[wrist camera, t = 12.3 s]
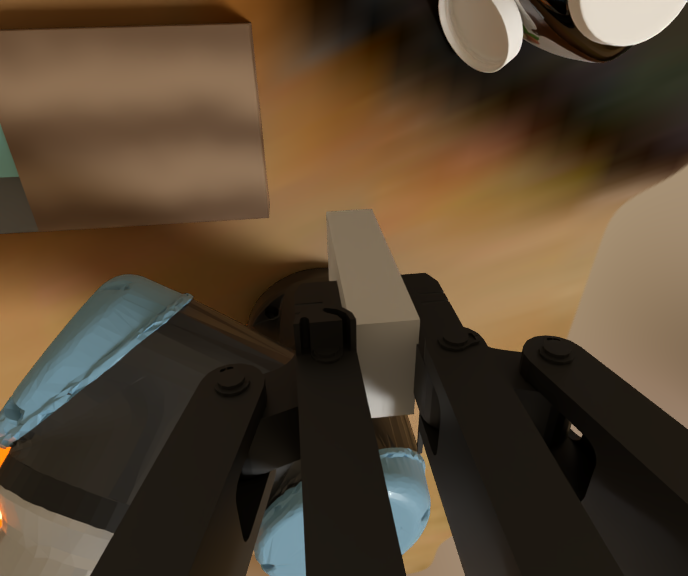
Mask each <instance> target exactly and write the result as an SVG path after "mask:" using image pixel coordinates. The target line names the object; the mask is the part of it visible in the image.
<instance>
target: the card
mask: <svg viewBox="0 0 688 576" xmlns="http://www.w3.org/2000/svg"><path fill="white" fill-rule="evenodd" d="M0 177H19V175H18V172H17V169H16V166H15V163H14V161H13V158H12V155H11V152H10V149H9V147H8V144H7V141H6V138H5V136H4V133H3V130H2V127H1V124H0Z"/></svg>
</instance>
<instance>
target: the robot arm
mask: <svg viewBox="0 0 688 576" xmlns="http://www.w3.org/2000/svg"><path fill="white" fill-rule="evenodd" d="M326 220H327V244H328V267H329V268H317V269H310V270H305V271H301V272H298V273H295V274H292V275H290V276H288V277H285V278H283V279H282V280H280V281H278V282H277V283H275V284H274V285H273V286H271V287H270V288H269V289H268V290H267V291H266V292H265V293H264V294H263V295H262V296H261V297H260V298H259V300H258V301H257V303H256V304H255V306H254V308H253V310H252V312H251V314H250V317H249V321H248V326H245V325H243V324H241V323H239V322H237V321H235V320H233V319H231V318H229V317H227V316H225V315H223V314H221V313H219V312H217V311H215V310H213V309H211V308H209V307H207V306H205V305H203V304H201V303H199V302H198V301H196V300H194V299H192V298H193V297H194V296H192V295H191V294H189V293H186V294H181V293H179V292H176V291H174V290H172V289H170V288H167V287H165V286H163V285H161V284H158V283H156V282H154V281H152V280H149V279H147V278H145V277H142V276H139V275H134V274H125V275H120V276H117V277H114V278H112V279H110V280H109V281H107V282H105V283H104V284H103V285H102V286H101V287H100V288H99V289H98V290H97V291H96V292H95V293H94V294H93V295H92V296H91V297H90V298H89V299H88V301H87V302H86V303H85V304H84V305H83V306H82V307H81V308H80V310H79V311H78V312H77V313H76V314H75V315H74V317H73V318H72V319H71V320H70V321H69V323H68V324H67V325H66V326H65V327H64V329H63V330H62V331H61V332H60V333H59V335H58V336H57V337H56V338H55V340H54V341H53V342H52V343H51V344H50V346H49V347H48V348H47V349H46V351H45V352H44V353H43V354H42V356H41V357H40V358H39V360H38V361H37V362H36V363H35V365H34V366H33V367H32V368H31V370H30V371H29V372H28V374H27V375H26V376H25V377H24V379H23V380H22V382H21V383H20V384H19V386H18V387H17V388H16V390H15V391H14V393H13V395H12V396H11V397H10V398H9V400H8V401H7V403H6V404H5V406H4V407H3V409H2V410H1V411H0V448H2V449H6V448H7V447H11V448H10V451H9V453H8V455H7V456H6V458H5V460H4V461H3V463H2V465H1V466H0V511H1V514H2V526H1V527H0V576H246V573H247V569H248V566H249V563H250V560H251V556H252V553H253V550H254V552H255V557H256V560H257V561H258V562H259V563H260V564H261V567H262V569H263V570H264V571H265V572H266V573H267V574H268V575H270V576H406V573H405V568H404V564H403V559H402V555H403V554H404V553H405V552H406V551H407V550H408V549H409V548H410V547H411V546H412V545H413V544H414V543H415V542H416V541H417V540H418V538H419V537H420V535H421V534H422V532H423V531H424V529H425V527H426V525H427V522H428V519H429V515H430V506H431V504H430V495H429V491H428V486H427V482H426V478H425V462H424V460H423V458H422V456H421V455H420V453H422V448H423V444H424V447H425V451H426V454H427V457H428V460H429V463H430V466H431V469H432V473H433V476H434V479H435V482H436V485H437V488H438V491H439V495H440V498H441V501H442V504H443V507H444V510H445V514H446V517H447V520H448V523H449V526H450V529H451V532H452V536H453V538H454V542H455V545H456V548H457V551H458V554H459V557H460V561H461V564H462V567H463V570H464V573H465V576H688V429H686V428H685V427H684V426H683V425H681V424H680V423H679V422H678V421H676V420H675V419H674V418H672V417H671V416H669V415H668V414H667V413H666V412H664V411H663V410H662V409H661V408H659V407H658V406H657V405H656V404H654V403H653V402H652V401H650V400H649V399H648V398H646V397H645V396H644V395H642V394H641V393H640V392H638V391H637V390H636V389H635V388H633V387H632V386H631V385H630V384H628V383H627V382H626V381H624V380H623V379H622V378H620V377H619V376H618V375H617V374H615V373H614V372H613V371H611V370H610V369H609V368H607V367H606V366H605V365H603V364H602V363H601V362H600V361H598V360H597V359H596V358H595V357H593V356H592V355H591V354H589V353H588V352H587V351H585V350H584V349H583V348H582V347H580V346H578V345H577V344H575V343H573V342H571V341H569V340H566V339H563V338H560V337H555V336H537V337H533V338H531V339H529V340H527V341H526V343H525V344H524V346H523V350H522V352H516V351H507V350H500V349H495V348H491V347H488V346H487V344H486V342H485V341H484V339H483V338H482V337H481V336H480V335H479V334H478V333H476V332H475V331H473V330H471V329H469V328H465V327H463V326H462V324H461V322H460V320H459V318H458V317H457V315H456V313H455V311H454V309H453V308H452V306H451V304H450V302H448V299H447V297H446V295H445V293H443V290H442V288H441V286H440V284H439V283H438V281H437V280H435V279H434V278H432V277H431V276H429V275H428V274H426V273H418V274H405V275H400V272H399V270H398V268H397V266H396V263H395V261H394V259H393V256H392V254H391V252H390V250H389V247H388V245H387V243H386V240H385V238H384V236H383V234H382V231H381V229H380V227H379V224H378V222H377V220H376V218H375V215H374V213H373V211H372V209H363V210H346V211H330V212H326ZM415 399H416V402H417V405H418V408H419V411H420V413H419V426H418V440H417V443H416V440H415V437H414V434H413V431H412V428H411V424H410V421H409V418H408V415H409V414H414V404H415ZM571 424H573V425H574V426H575V427H576V428H577V429H578V430H579V431H580V432H581V433H582V434H583V435H582V437H579V436H578V435H577V434H575V433H574V432H573V431H572V430H571V429H570V427H571Z"/></svg>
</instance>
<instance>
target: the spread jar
mask: <svg viewBox="0 0 688 576" xmlns="http://www.w3.org/2000/svg"><path fill="white" fill-rule="evenodd" d="M687 1H688V0H439V2H438V10H439V18H440V22H441V25H442V28H443V31H444V34H445V36H446V38H447V40H448V42H449V43H450V45H451V47H452V48H453V49H454V51H455V52H456V53H457V55H458V56H459V57H460V58H461V59H462V60H463V61H464V62H465V63H467V64H468V65H469V66H471V67H472V68H474V69H476V70H478V71H481V72H486V73H491V72H496V71H498V70H500V69H501V68H502V67H503V66H505V65H506V64H507V63H508V62H509V61H511V60H512V59H513V58H514V57H515V56H516V55H517V53H518V52H519V50H520V48H521V44H522V39H524V40H526V41H527V42H529V43H531V44H533V45H535V46H537V47H539V48H541V49H543V50H545V51H548V52H550V53H553V54H555V55H559V56H562V57H565V58H570V59H575V60H580V61H585V62H592V63H604V62H608V61H611V60H614V59H616V58H618V57H619V56H621V55H622V54H623V53H625V52H626V51H627V50H628V49H629V48H630V47H632V46H633V45H635V44H638V43H641V42H643V41H646V40H648V39H650V38H651V37H653V36H655V35H657V34H658V33H659V32H661V31H662V30H663V29H664V28H665V27H667V26H668V25H669V24H670V23H671V22H672V21H673V20H674V18H675V17H676V16H677V15H678V14H679V13H680V11H681V10H682V8H683V7H684V5H685V4H686V2H687Z"/></svg>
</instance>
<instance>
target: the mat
mask: <svg viewBox="0 0 688 576" xmlns="http://www.w3.org/2000/svg"><path fill="white" fill-rule="evenodd" d="M22 232H39V230H38V227H37V225H36V222H35V219H34V216H33V213H32V211H31V208H30V205H29V202H28V200H27V197H26V194H25V191H24V188H23V186H22V183H21V180H20V177H0V234H6V233H22Z"/></svg>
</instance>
